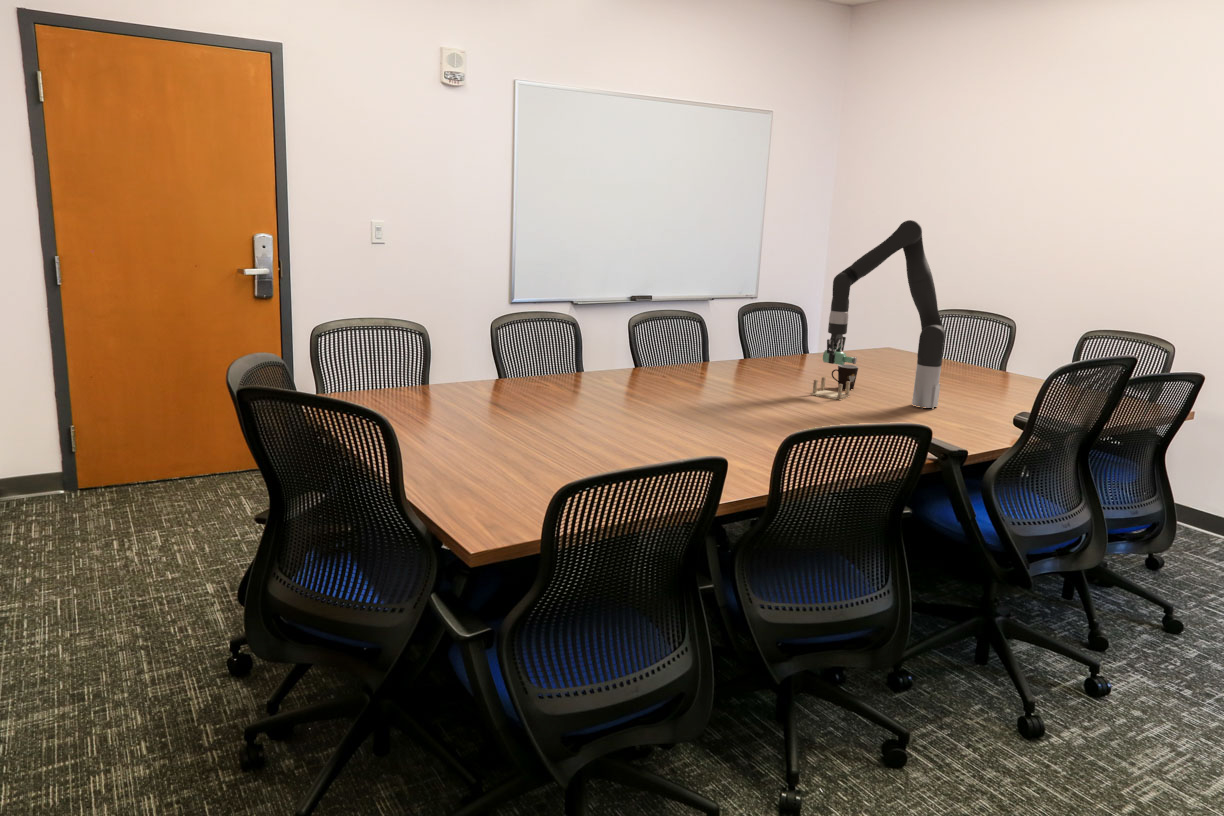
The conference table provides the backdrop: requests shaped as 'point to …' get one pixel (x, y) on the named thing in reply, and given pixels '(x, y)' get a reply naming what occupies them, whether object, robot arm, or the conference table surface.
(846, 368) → the coffee mug
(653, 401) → the conference table surface
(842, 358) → the bottle
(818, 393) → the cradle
